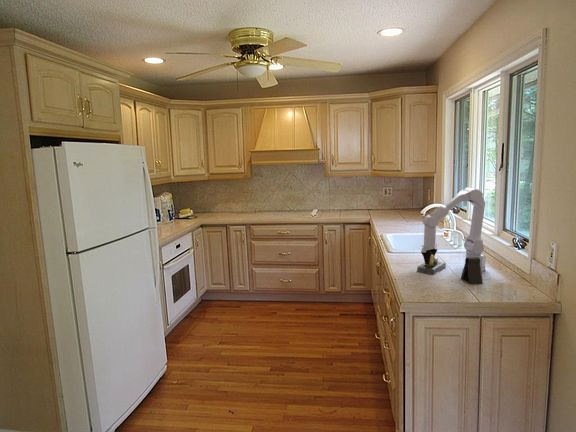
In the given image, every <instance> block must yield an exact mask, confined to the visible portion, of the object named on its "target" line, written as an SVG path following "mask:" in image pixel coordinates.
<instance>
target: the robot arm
mask: <svg viewBox="0 0 576 432" xmlns="http://www.w3.org/2000/svg"><path fill="white" fill-rule="evenodd" d="M483 196H484V193H483V192H482V191H481V190H480V189H479V188H471V187H464V188H463V189H462V190H459V191H458V193H457V194H456V195H455V196H454V197H453V198H452V199H451V200H449V201H448V202H447V203H446V204H445V205H441V206H437V207H436V209H435V210H434V211H432V212H430V213H429V215H425V216H424V218H423V220H422V224H423V225H424V229H423V230H424V231H423V244H422V245H421V247H422V248H421V250H420V251H421V254H422V257H423V261H424V263H425V264H429V263H430V258H431V255H432V254H434V257H436V254H437V252H438V248H437V247H438V244H437V243H436V231H437V230H436V229H437V226H438V225H439V222H440V221H441V220H443V219H444V218H445V217H447V216H448V215H449V213H450V211H451V210H453V208H455V207H456V206H458V205H460V204H461V203H462V202H469V204H471V205H472V206H473V207H472V213H471V214H472V215H471V222H470V229H469V235H467V237H466V240H465V242H464V243H463V247H464V249H465V259H466V258H470V257H478V258H480V268H481V273H482V272H484V271H485V270H486V261H487V257H486V255H485V254H482V253H483V252H484V250H485V247H484V243H483V242H484V240H483V239H482V231H483V229H482V228H483V224H484V223H483V222H484V216H485V215H484V214H485V208H486V201H485V198H484V197H483ZM434 257H433V260H434ZM463 269H464V267H463V268H462V270H463Z"/></svg>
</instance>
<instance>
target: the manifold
mask: <svg viewBox="0 0 576 432" xmlns="http://www.w3.org/2000/svg"><path fill="white" fill-rule="evenodd" d="M446 265H447V263H446V262H443V261H439V257H436V256H434V260H433V268H427V267H425V262H423V263H421V264H420V265H418V266H417V269H416V271H417V272H421V273H426V274H430V275H431V274H432V275H435V274H436V273H439V272H440V271H442V270H443V269H446V267H447V266H446Z"/></svg>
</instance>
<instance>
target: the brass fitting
mask: <svg viewBox="0 0 576 432" xmlns="http://www.w3.org/2000/svg"><path fill="white" fill-rule="evenodd" d="M433 257H435V256H434V254H432V255H431V258H430V263H429V264H425V267H427V268H433Z"/></svg>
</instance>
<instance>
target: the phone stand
mask: <svg viewBox="0 0 576 432" xmlns="http://www.w3.org/2000/svg"><path fill="white" fill-rule="evenodd" d="M463 268H464V269H463ZM463 268H462V272H461V276H460V279H461V280H463V281H464V282H466V283H467V284H470V285H479V284H480V285H482V284H483V283H484V282H483V277H482V275H483V274H482V272H481V268H480V258H478V257H470V258H466V257H465V258H464V266H463Z"/></svg>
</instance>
